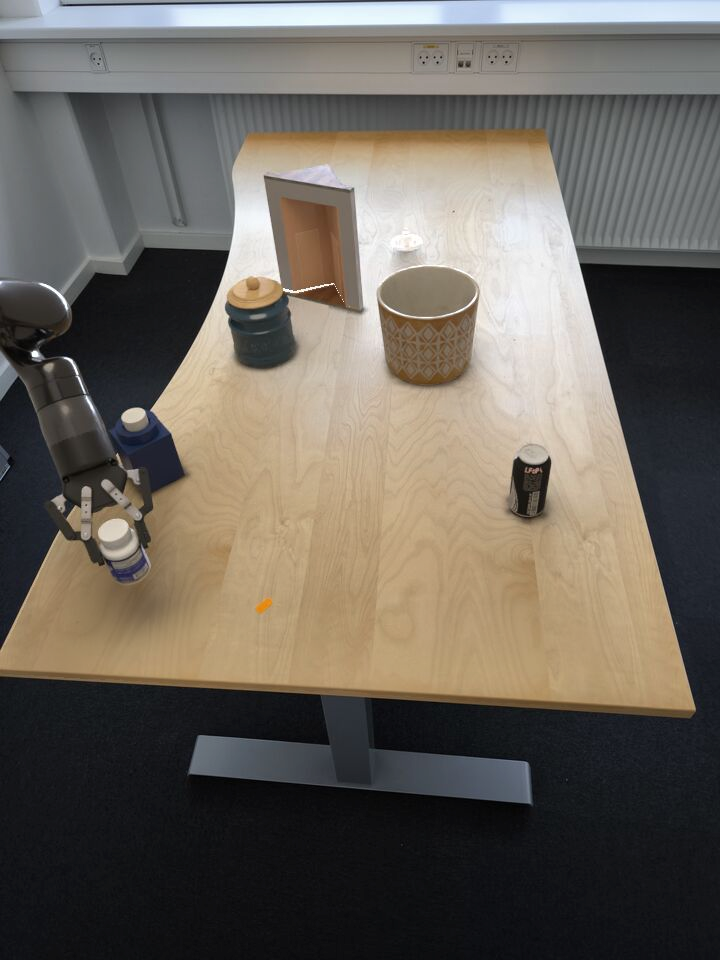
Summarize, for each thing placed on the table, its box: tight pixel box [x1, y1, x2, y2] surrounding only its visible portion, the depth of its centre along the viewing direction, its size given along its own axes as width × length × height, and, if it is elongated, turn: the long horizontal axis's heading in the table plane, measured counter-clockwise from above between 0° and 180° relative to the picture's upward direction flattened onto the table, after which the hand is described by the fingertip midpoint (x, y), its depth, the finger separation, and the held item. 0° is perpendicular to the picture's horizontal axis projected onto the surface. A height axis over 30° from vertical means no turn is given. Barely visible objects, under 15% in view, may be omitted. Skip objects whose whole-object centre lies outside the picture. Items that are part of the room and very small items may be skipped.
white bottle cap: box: [120, 407, 149, 432], centre depth 122 cm, size 4×4×2 cm
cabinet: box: [263, 163, 364, 314], centre depth 161 cm, size 21×10×28 cm, turn 61°
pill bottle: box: [97, 518, 152, 586], centre depth 98 cm, size 5×5×9 cm
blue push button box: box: [108, 409, 186, 494], centre depth 127 cm, size 8×8×12 cm
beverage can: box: [508, 442, 552, 518], centre depth 115 cm, size 6×6×12 cm
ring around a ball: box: [389, 227, 423, 253], centre depth 182 cm, size 8×6×8 cm
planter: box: [376, 264, 481, 386], centre depth 143 cm, size 19×19×16 cm
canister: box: [224, 275, 296, 369], centre depth 150 cm, size 13×13×18 cm
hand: (124, 556), depth 97 cm, fingers closed on pill bottle, 5 cm apart
